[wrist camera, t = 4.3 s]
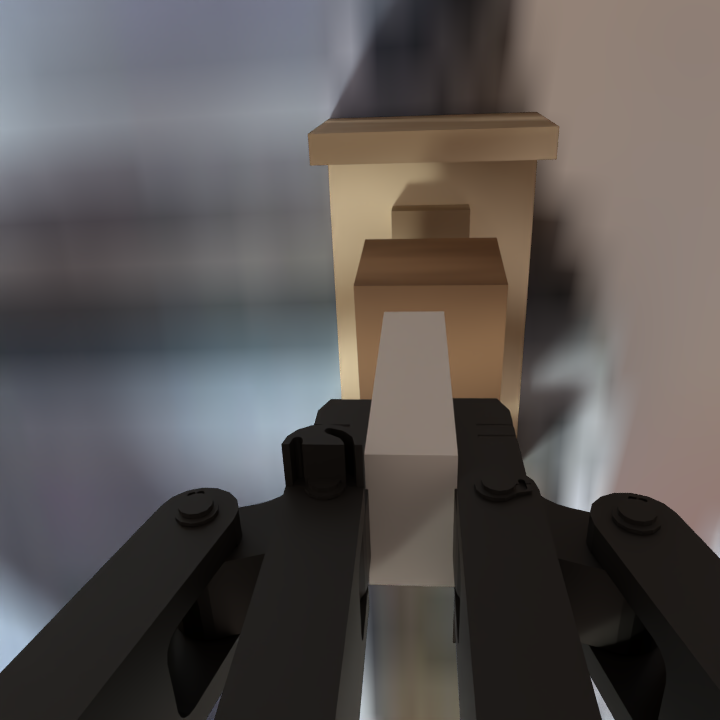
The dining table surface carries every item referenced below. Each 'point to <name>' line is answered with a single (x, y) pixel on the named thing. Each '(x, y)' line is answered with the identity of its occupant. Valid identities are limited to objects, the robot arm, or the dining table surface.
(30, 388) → the dining table surface
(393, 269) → the walnut bar
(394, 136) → the birch cradle
